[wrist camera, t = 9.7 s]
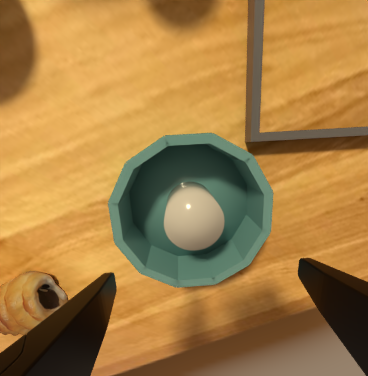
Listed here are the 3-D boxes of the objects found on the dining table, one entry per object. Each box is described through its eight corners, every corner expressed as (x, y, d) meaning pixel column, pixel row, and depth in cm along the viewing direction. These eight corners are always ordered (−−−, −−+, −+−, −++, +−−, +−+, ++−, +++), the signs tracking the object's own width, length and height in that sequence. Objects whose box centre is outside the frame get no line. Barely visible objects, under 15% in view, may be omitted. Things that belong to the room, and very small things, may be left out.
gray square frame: (426, -54, 16) (451, -73, 14) (389, 133, 19) (406, 132, 18) (249, -48, 15) (256, -68, 14) (245, 142, 19) (250, 141, 18)
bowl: (253, 132, 19) (277, 129, 15) (249, 253, 22) (267, 280, 18) (116, 140, 19) (97, 139, 14) (133, 262, 22) (122, 291, 17)
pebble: (212, 179, 19) (224, 191, 14) (213, 223, 20) (224, 248, 16) (165, 182, 19) (161, 196, 14) (168, 226, 20) (166, 252, 15)
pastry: (13, 328, 24) (-18, 362, 20) (-21, 289, 22) (-60, 317, 18) (76, 302, 23) (57, 332, 19) (46, 260, 22) (19, 283, 18)
